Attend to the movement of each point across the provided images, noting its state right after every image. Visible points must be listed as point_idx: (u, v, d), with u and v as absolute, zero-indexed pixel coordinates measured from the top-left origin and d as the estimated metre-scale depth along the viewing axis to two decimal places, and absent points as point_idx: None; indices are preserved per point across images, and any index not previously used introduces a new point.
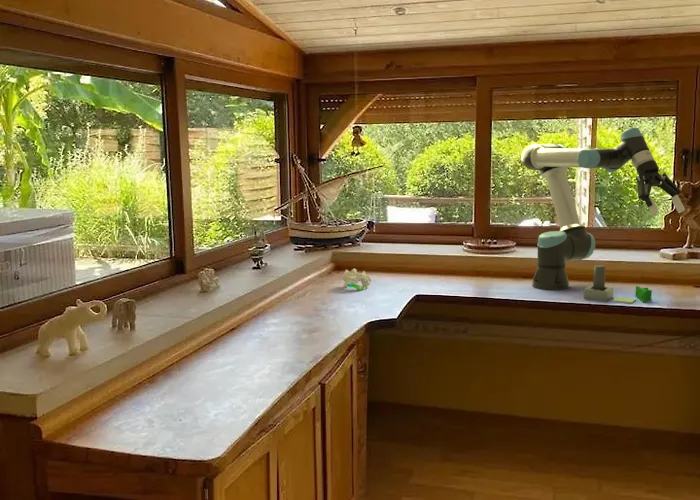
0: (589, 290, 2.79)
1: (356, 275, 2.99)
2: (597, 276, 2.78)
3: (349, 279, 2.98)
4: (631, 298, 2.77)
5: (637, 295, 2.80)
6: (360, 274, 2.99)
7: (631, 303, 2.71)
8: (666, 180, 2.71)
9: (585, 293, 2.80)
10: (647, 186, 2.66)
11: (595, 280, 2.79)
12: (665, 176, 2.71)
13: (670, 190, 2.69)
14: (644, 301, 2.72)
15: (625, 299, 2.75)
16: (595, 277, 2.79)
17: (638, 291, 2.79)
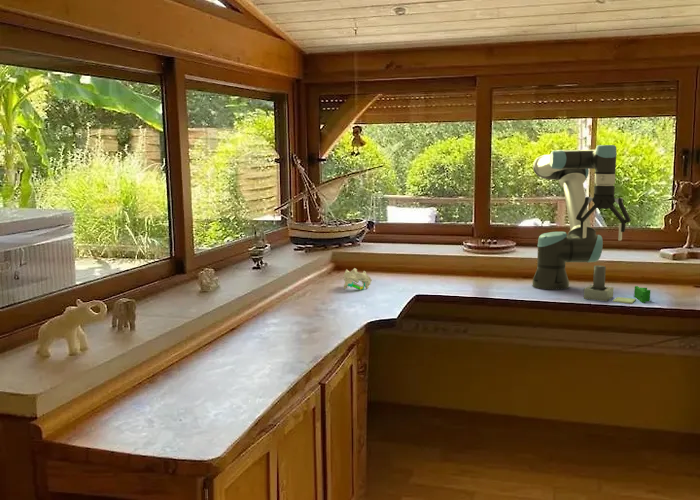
0: (589, 290, 2.79)
1: (356, 275, 3.00)
2: (597, 276, 2.78)
3: (349, 279, 2.98)
4: (631, 298, 2.77)
5: (636, 295, 2.80)
6: (360, 274, 2.99)
7: (631, 303, 2.71)
8: None
9: (585, 293, 2.80)
10: (590, 209, 2.78)
11: (595, 280, 2.79)
12: (618, 202, 2.72)
13: (617, 217, 2.73)
14: (643, 301, 2.72)
15: (625, 299, 2.75)
16: (595, 277, 2.79)
17: (637, 291, 2.79)
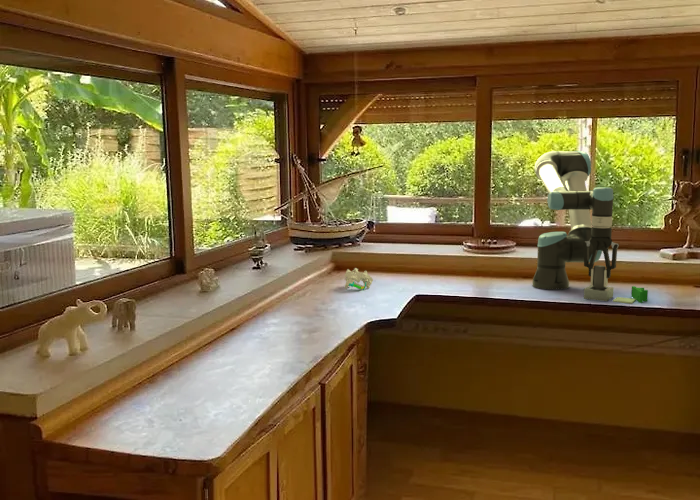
0: (589, 290, 2.79)
1: (358, 275, 3.00)
2: (597, 276, 2.78)
3: (351, 279, 2.98)
4: (631, 298, 2.77)
5: (633, 295, 2.80)
6: (362, 274, 3.00)
7: (631, 303, 2.71)
8: None
9: (585, 293, 2.80)
10: None
11: (595, 280, 2.79)
12: (613, 247, 2.74)
13: None
14: (640, 301, 2.72)
15: (625, 299, 2.75)
16: (595, 277, 2.79)
17: (634, 291, 2.79)
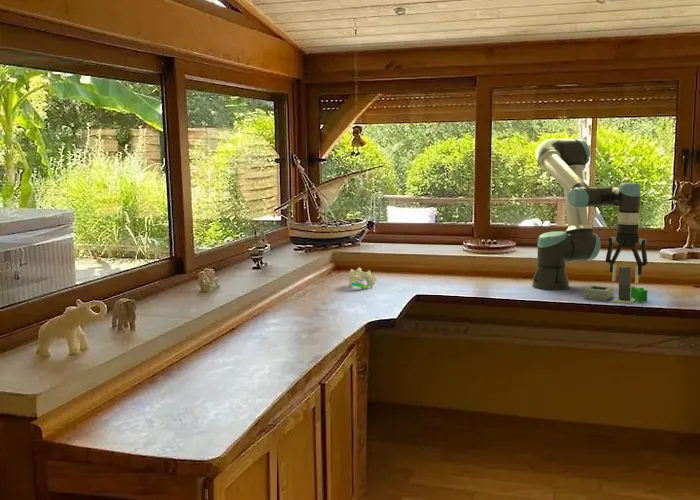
0: (589, 290, 2.79)
1: (361, 274, 3.01)
2: (623, 277, 2.72)
3: (354, 278, 3.00)
4: (631, 298, 2.77)
5: (632, 295, 2.80)
6: (365, 273, 3.01)
7: (631, 303, 2.71)
8: (641, 247, 2.69)
9: (585, 293, 2.80)
10: (616, 250, 2.74)
11: (621, 281, 2.73)
12: (641, 243, 2.68)
13: None
14: (640, 301, 2.72)
15: None
16: (621, 278, 2.73)
17: (633, 291, 2.79)
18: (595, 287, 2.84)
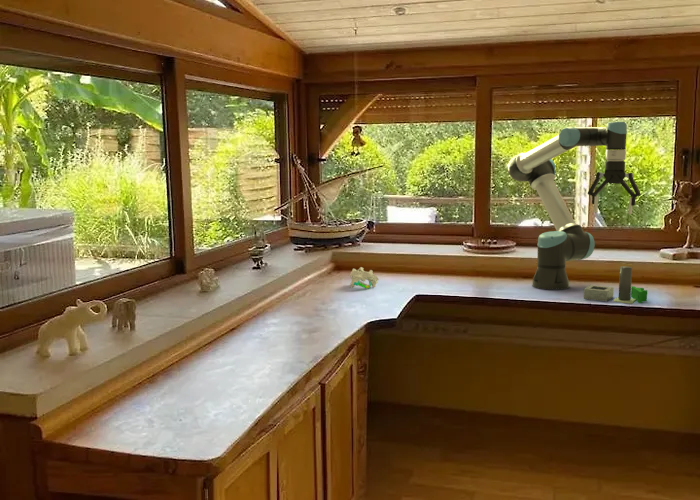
0: (589, 290, 2.79)
1: (363, 274, 3.02)
2: (624, 278, 2.72)
3: (356, 278, 3.01)
4: (631, 298, 2.77)
5: (633, 295, 2.80)
6: (367, 273, 3.02)
7: (631, 303, 2.71)
8: (629, 180, 2.82)
9: (585, 293, 2.80)
10: (601, 184, 2.89)
11: (621, 281, 2.73)
12: (629, 176, 2.82)
13: (627, 191, 2.83)
14: (640, 301, 2.72)
15: None
16: (621, 278, 2.73)
17: (634, 291, 2.79)
18: (595, 287, 2.84)
